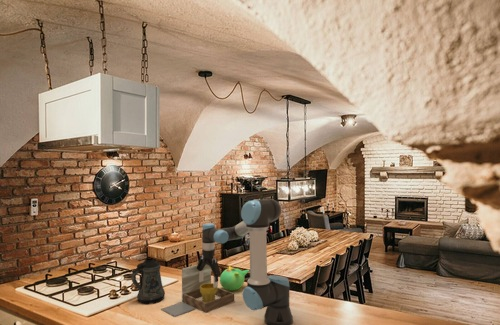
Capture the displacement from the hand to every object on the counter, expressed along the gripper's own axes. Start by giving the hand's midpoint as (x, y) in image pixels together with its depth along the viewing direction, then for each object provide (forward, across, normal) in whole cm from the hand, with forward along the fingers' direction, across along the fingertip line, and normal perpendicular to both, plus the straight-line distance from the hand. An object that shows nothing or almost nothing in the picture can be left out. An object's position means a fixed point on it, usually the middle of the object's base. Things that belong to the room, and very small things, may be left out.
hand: (208, 284), depth 208 cm
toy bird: (+11, +4, -25) cm, 28 cm away
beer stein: (+11, +28, +23) cm, 38 cm away
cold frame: (+11, 0, 0) cm, 11 cm away
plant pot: (+11, 0, 0) cm, 11 cm away
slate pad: (+11, +4, +19) cm, 22 cm away
